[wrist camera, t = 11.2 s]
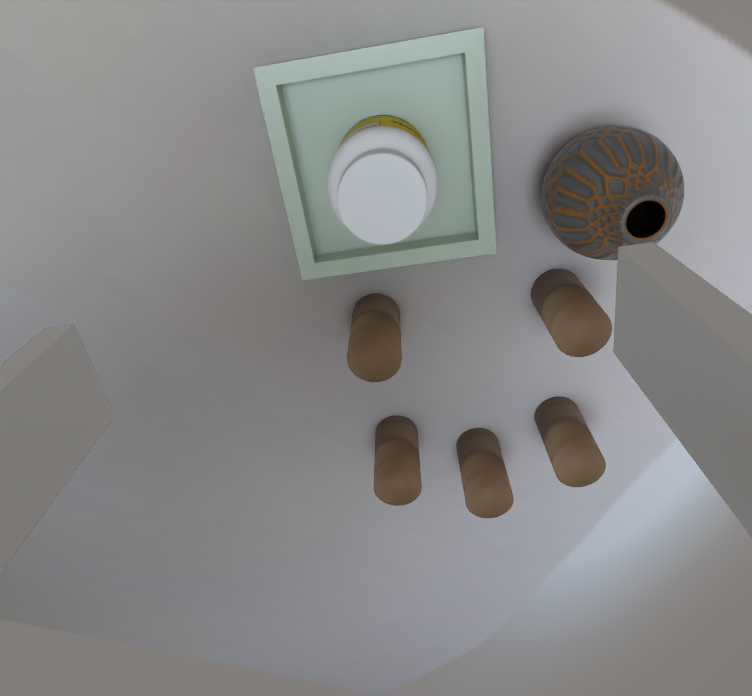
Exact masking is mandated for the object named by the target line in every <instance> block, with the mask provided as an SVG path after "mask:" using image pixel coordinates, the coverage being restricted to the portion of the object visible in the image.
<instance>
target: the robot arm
mask: <svg viewBox="0 0 752 696" xmlns="http://www.w3.org/2000/svg"><path fill="white" fill-rule="evenodd" d="M613 352H614V354H615V355H616V356H617V358H618V359H619V360H620V362H621V363H622V364H623V366H624V367H625V368H626V370H627V371H628V372H629V374H630V375H631V376H632V378H633V379H634V380H635V382H636V383H637V384H638V386H639V387H640V388H641V390H642V391H643V392H644V394H645V395H646V396H647V398H648V399H649V401H650V402H651V403H652V405H653V406H654V407H655V409H656V410H657V411H658V413H659V414H660V415H661V417H662V418H663V419H664V421H665V422H666V423H667V425H668V426H669V427H670V429H671V430H672V431H673V433H674V434H675V435H676V437H677V438H678V439H679V441H680V442H681V443H682V445H683V446H684V447H685V449H686V450H687V451H688V453H689V454H690V455H691V457H692V458H693V460H694V461H695V462H696V464H697V465H698V466H699V468H700V469H701V470H702V472H703V473H704V474H705V476H706V477H707V478H708V480H709V481H710V482H711V483H712V485H713V486H714V488H715V489H716V490H717V492H718V493H719V494H720V496H721V497H722V498H723V500H724V501H725V502H726V504H727V505H728V506H729V508H730V509H731V511H732V512H733V513H734V515H735V516H736V517H737V519H738V520H739V521H740V523H741V524H742V525H743V527H744V528H745V529H746V531H747V532H748V533H749V535H750V536H751V537H752V314H750V313H749V312H748V311H746V310H745V309H743V308H742V307H741V306H739V305H738V304H737V303H735V302H734V301H733V300H731V299H730V298H728V297H727V296H726V295H724V294H723V293H722V292H720V291H719V290H718V289H716V288H715V287H714V286H712V285H711V284H709V283H708V282H707V281H705V280H704V279H703V278H701V277H700V276H699V275H697V274H696V273H695V272H693V271H692V270H690V269H689V268H688V267H686V266H685V265H684V264H682V263H681V262H680V261H678V260H677V259H675V258H674V257H673V256H671V255H670V254H669V253H667V252H666V251H665V250H663V249H662V248H661V247H659V246H658V245H656V244H655V243H654V242H649V243H642V244H634V245H627V246H620V247H618V263H617V284H616V306H615V327H614V348H613ZM114 416H115V414H114V411H113V409H112V407H111V405H110V403H109V400H108V398H107V396H106V394H105V392H104V389H103V387H102V385H101V383H100V381H99V378H98V376H97V374H96V372H95V369H94V367H93V365H92V363H91V361H90V358H89V356H88V354H87V352H86V350H85V347H84V345H83V343H82V341H81V339H80V336H79V334H78V332H77V330H76V327H75V325H74V324H71V325H64V326H57V327H50V328H45V329H43V330H42V331H41V332H40V333H39V334H37V335H36V336H35V337H34V338H33V339H31V340H30V341H29V342H28V343H27V344H26V345H24V346H23V347H22V348H21V349H20V350H18V351H17V352H16V353H15V354H14V355H12V356H11V357H10V358H9V359H8V360H6V361H5V362H4V363H3V364H2V365H1V366H0V574H1V573H2V571H3V570H4V569H5V567H6V566H7V564H8V563H9V562H10V560H11V559H12V557H13V556H14V555H15V553H16V552H17V551H18V549H19V548H20V546H21V545H22V544H23V542H24V541H25V539H26V538H27V537H28V535H29V534H30V533H31V531H32V530H33V528H34V527H35V526H36V524H37V523H38V521H39V520H40V519H41V517H42V516H43V515H44V513H45V512H46V510H47V509H48V508H49V506H50V505H51V503H52V502H53V501H54V499H55V498H56V497H57V495H58V494H59V492H60V491H61V490H62V488H63V487H64V485H65V484H66V483H67V481H68V480H69V479H70V477H71V476H72V474H73V473H74V472H75V470H76V469H77V467H78V466H79V465H80V463H81V462H82V461H83V459H84V458H85V456H86V455H87V454H88V452H89V451H90V449H91V448H92V447H93V445H94V444H95V443H96V441H97V440H98V438H99V437H100V436H101V434H102V433H103V431H104V430H105V429H106V427H107V426H108V425H109V423H110V422H111V420H112V419H113V418H114Z"/></svg>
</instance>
